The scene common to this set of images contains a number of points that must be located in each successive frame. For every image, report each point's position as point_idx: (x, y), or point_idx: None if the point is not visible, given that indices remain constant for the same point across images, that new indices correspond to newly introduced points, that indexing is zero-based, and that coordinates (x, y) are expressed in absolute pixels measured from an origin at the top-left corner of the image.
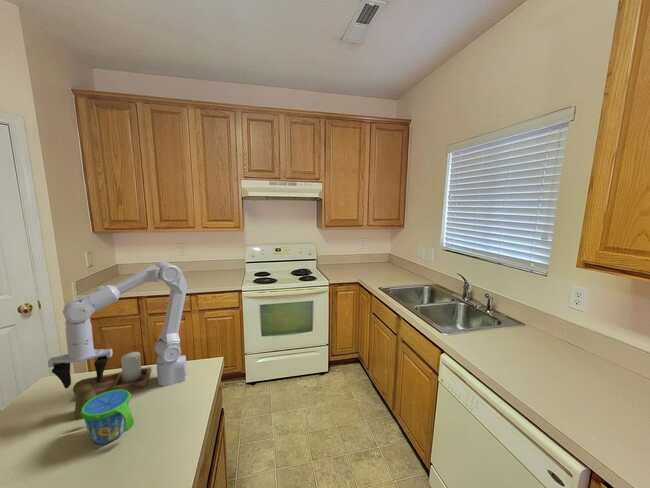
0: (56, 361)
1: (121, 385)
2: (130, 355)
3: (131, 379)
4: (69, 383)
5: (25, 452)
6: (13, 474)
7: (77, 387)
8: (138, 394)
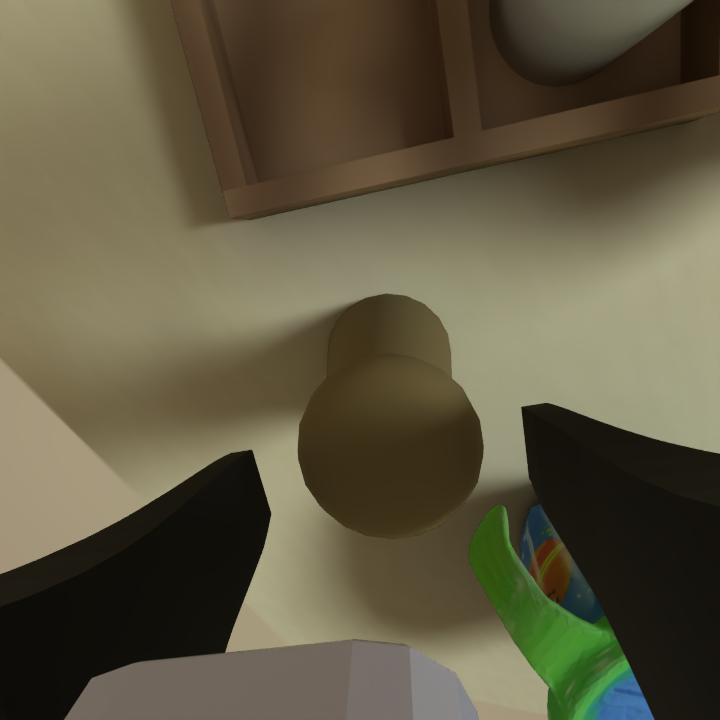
0: None
1: (536, 134)
2: None
3: (614, 56)
4: (253, 492)
5: (264, 553)
6: (308, 642)
7: (369, 534)
8: (647, 191)
